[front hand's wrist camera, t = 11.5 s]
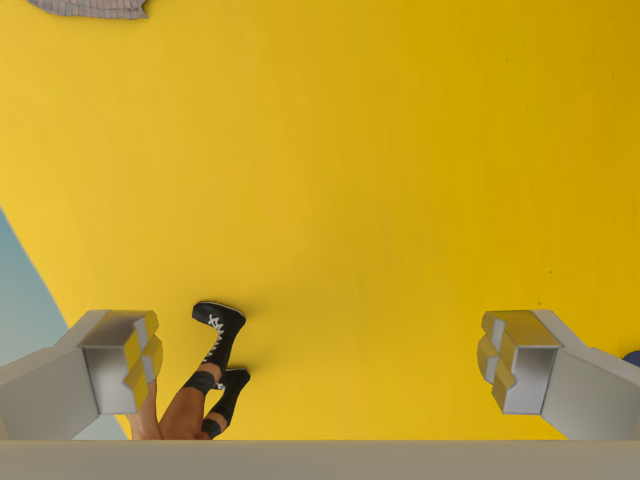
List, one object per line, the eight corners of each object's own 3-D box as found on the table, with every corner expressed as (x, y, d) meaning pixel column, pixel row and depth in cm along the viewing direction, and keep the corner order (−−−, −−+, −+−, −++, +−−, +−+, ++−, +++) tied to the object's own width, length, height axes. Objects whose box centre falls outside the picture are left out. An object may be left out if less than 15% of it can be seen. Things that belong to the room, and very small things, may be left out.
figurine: (180, 248, 43) (-69, 559, 16) (241, 247, 43) (99, 559, 16) (205, 426, 52) (75, 825, 25) (255, 426, 52) (182, 825, 25)
